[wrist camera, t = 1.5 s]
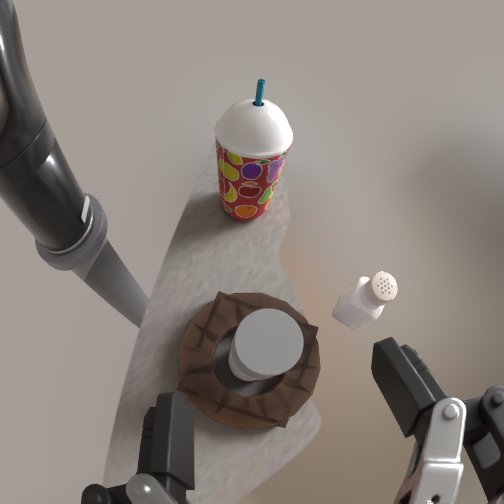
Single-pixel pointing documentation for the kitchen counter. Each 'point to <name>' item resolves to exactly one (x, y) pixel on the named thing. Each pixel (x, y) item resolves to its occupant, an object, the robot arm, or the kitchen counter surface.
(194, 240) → the kitchen counter surface
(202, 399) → the collar
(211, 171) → the kitchen counter surface
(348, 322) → the pepper shaker
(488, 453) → the robot arm
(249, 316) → the container
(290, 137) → the smoothie
